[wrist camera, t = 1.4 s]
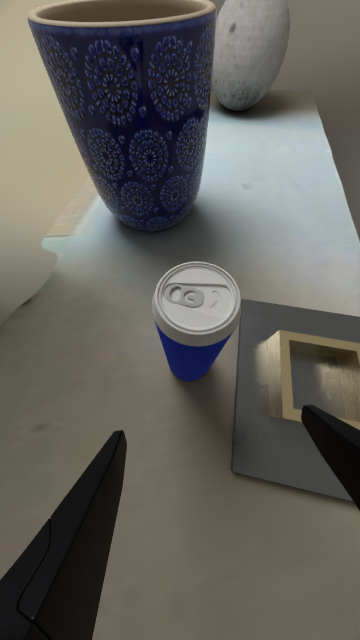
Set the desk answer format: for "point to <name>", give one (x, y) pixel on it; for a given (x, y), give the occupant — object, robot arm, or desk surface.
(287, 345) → the plate
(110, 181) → the planter
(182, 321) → the beverage can
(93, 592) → the robot arm
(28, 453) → the desk surface
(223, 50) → the moon model
